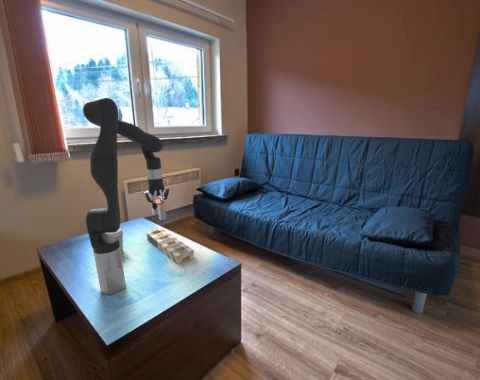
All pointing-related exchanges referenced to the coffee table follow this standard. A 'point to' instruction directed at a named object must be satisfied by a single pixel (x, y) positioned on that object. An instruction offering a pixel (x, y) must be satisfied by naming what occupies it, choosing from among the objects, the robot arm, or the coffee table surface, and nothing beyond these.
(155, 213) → the pinkish brown rectangular block
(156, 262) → the coffee table surface
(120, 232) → the coffee cup
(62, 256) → the coffee table surface
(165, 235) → the rail
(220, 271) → the coffee table surface
